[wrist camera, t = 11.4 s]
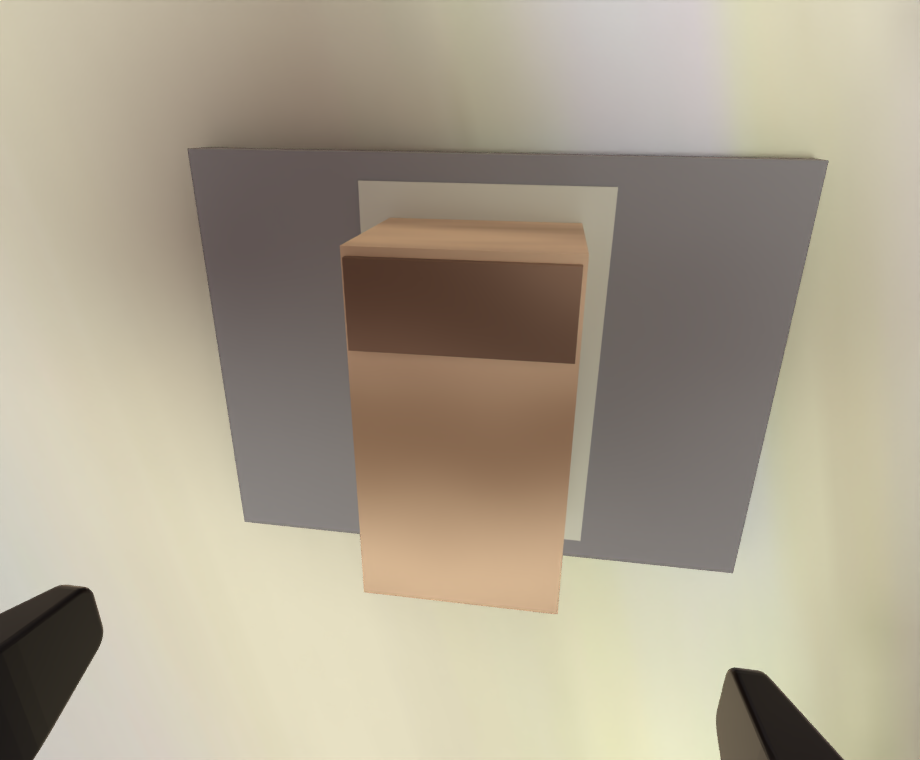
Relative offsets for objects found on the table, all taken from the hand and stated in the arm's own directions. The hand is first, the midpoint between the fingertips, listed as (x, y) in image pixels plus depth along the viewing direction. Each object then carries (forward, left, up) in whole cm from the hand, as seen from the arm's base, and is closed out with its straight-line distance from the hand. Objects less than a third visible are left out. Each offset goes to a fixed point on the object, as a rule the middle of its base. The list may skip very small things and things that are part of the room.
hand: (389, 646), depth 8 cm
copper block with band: (0, 0, -10) cm, 10 cm away
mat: (0, 0, -11) cm, 11 cm away
